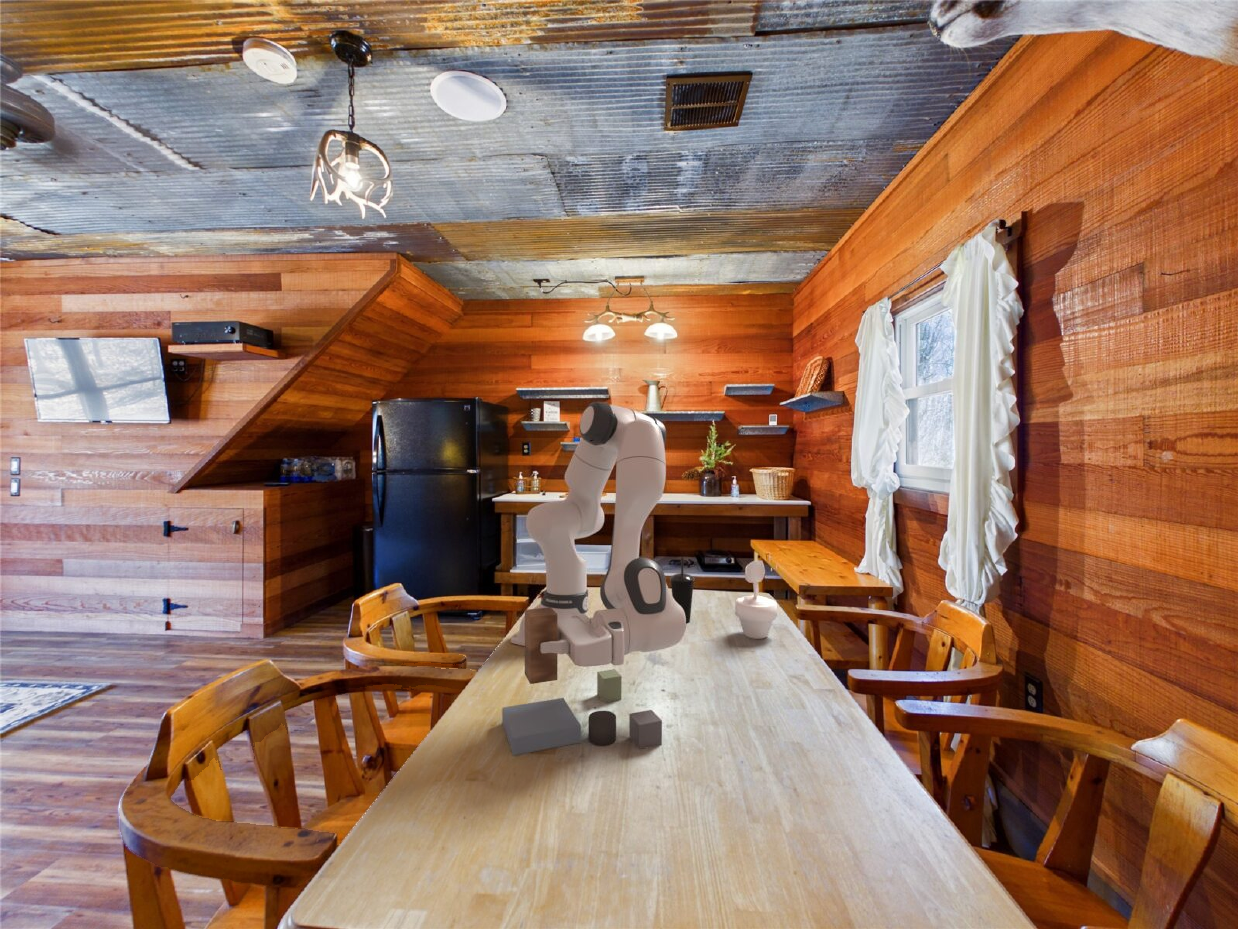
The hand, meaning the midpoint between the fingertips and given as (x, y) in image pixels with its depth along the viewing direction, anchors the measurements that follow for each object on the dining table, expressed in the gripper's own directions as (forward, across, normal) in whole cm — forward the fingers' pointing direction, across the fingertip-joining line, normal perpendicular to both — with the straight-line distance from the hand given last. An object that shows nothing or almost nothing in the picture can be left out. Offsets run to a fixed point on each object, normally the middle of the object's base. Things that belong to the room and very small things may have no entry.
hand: (536, 641), depth 100 cm
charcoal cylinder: (-11, +6, +17) cm, 21 cm away
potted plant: (-71, -32, +17) cm, 80 cm away
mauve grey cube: (-18, +10, +17) cm, 26 cm away
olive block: (-18, -9, +17) cm, 26 cm away
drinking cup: (-57, -52, +17) cm, 79 cm away
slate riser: (-1, 0, +17) cm, 17 cm away
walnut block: (-1, 0, +7) cm, 7 cm away
